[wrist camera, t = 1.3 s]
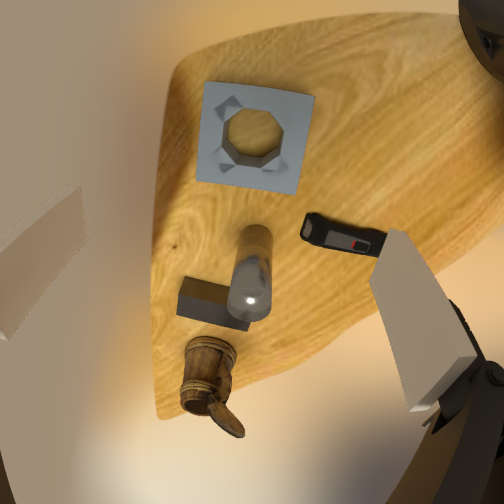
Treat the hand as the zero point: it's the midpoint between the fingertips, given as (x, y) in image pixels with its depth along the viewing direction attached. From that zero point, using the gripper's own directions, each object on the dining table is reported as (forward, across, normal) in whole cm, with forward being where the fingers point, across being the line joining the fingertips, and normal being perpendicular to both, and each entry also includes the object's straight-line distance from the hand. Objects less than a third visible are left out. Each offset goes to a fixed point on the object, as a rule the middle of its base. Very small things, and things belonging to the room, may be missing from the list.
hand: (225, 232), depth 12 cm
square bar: (+22, -2, -23) cm, 32 cm away
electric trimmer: (+22, +14, -10) cm, 28 cm away
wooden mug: (+22, -1, -35) cm, 41 cm away
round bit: (+22, +2, -13) cm, 25 cm away
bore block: (+22, 0, 0) cm, 22 cm away
